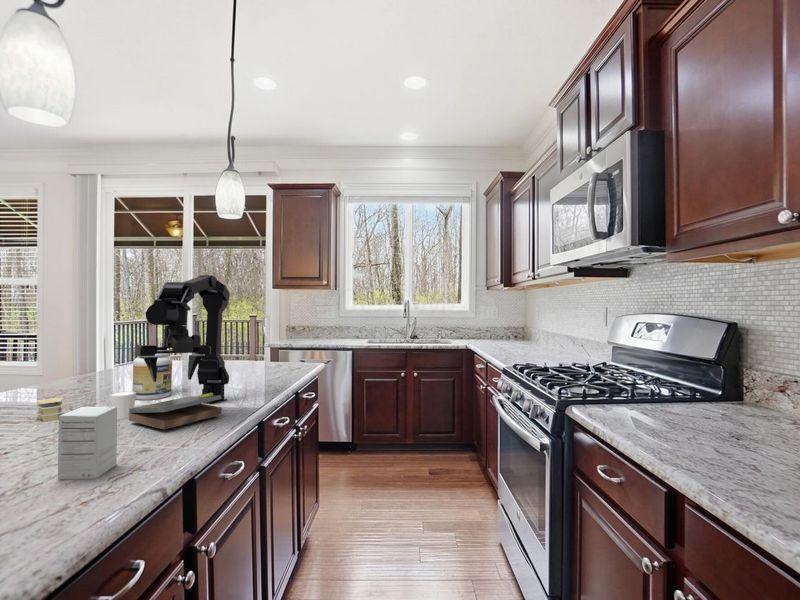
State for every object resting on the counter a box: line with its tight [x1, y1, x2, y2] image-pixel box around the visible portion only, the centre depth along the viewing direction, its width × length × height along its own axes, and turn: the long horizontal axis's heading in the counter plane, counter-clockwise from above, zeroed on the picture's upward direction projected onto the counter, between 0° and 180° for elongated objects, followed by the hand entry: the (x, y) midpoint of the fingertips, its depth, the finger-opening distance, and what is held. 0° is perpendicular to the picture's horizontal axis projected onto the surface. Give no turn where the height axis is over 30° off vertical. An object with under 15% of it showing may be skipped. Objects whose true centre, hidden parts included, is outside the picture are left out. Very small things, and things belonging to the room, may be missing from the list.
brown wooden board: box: [128, 403, 223, 430], centre depth 124 cm, size 18×16×3 cm
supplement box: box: [57, 406, 118, 480], centre depth 87 cm, size 7×7×13 cm
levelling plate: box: [129, 393, 221, 413], centre depth 124 cm, size 18×16×2 cm
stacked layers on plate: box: [36, 397, 64, 422], centre depth 124 cm, size 10×9×6 cm
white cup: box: [108, 391, 136, 421], centre depth 127 cm, size 7×7×7 cm
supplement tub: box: [132, 348, 173, 401], centre depth 153 cm, size 12×12×17 cm
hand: (172, 380), depth 121 cm, fingers open, 9 cm apart
